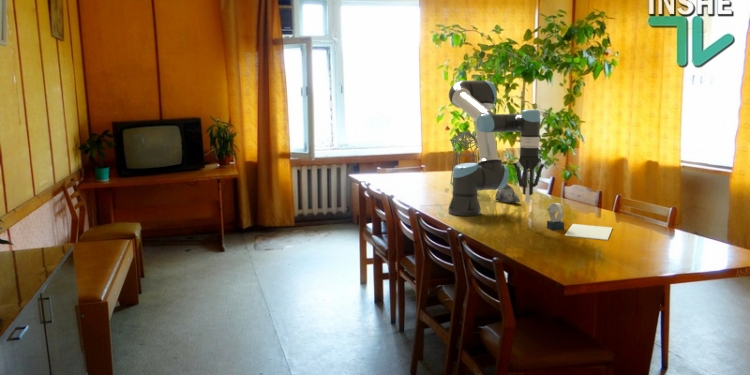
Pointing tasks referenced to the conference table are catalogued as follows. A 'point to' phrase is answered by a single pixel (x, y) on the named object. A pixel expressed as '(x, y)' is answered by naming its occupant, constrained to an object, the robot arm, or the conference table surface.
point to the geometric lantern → (464, 146)
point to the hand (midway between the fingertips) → (527, 202)
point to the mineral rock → (506, 195)
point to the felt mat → (589, 232)
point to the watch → (556, 222)
